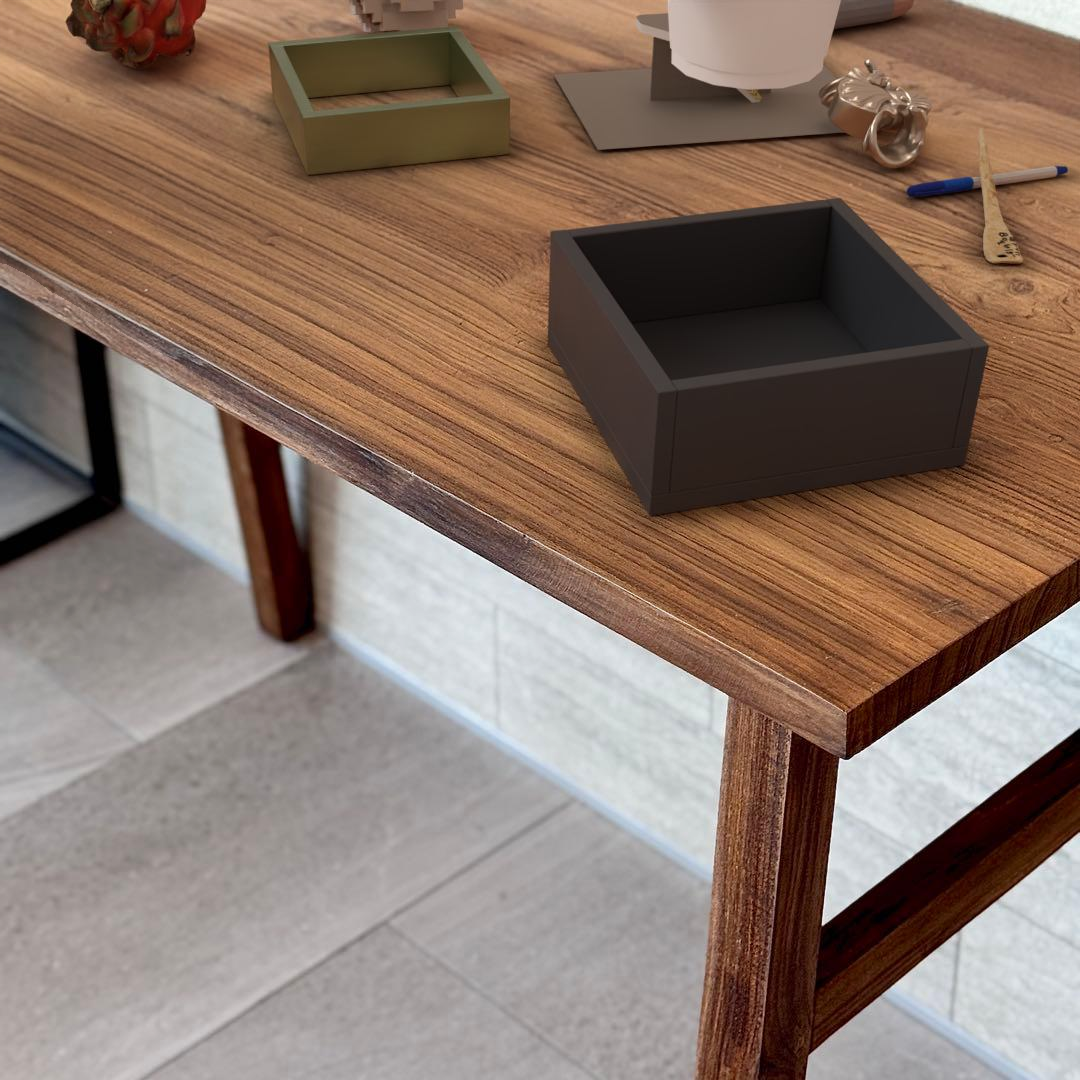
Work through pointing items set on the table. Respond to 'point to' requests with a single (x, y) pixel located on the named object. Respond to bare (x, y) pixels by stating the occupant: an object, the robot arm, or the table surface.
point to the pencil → (869, 11)
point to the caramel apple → (404, 14)
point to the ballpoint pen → (975, 182)
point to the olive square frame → (389, 128)
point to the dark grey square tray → (759, 353)
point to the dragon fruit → (136, 28)
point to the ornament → (878, 113)
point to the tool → (994, 215)
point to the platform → (687, 103)
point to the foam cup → (751, 40)
